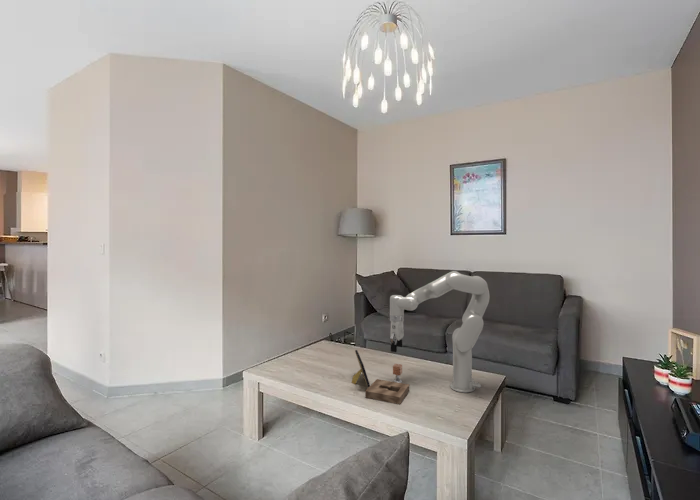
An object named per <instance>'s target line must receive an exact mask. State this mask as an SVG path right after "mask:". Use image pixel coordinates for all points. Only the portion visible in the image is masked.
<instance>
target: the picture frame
mask: <svg viewBox="0 0 700 500" xmlns="http://www.w3.org/2000/svg"><path fill="white" fill-rule="evenodd" d="M354 353H355V355H356V358H357V361H358V365H359V368H360V369H359V370H358V371H357V372H356V373H355V374H354V375H353V376H352V379H351V383H352V384H353V385H356V384H357V382H358V381H359V378H360V377H361V375H362V377H363V379H364V382H365V384H366V386H367V389H368V388H369V387H370V386H371V384H370V381H369V377H368V375H367V371H366V368H365V365H364V362H363V361H362V358H361V355H360V353H359V351H358V349H356V350H354Z"/></svg>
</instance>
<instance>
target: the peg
mask: <svg viewBox="0 0 700 500" xmlns="http://www.w3.org/2000/svg"><path fill="white" fill-rule="evenodd" d="M402 374H403V364H402V363H401V364H399V363H394V365H392V375H395V379H393V382H397V383H403V381H402V379H401V378H400V376H401V375H402Z"/></svg>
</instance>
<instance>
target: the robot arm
mask: <svg viewBox="0 0 700 500" xmlns="http://www.w3.org/2000/svg"><path fill="white" fill-rule="evenodd" d="M452 290H455V291H459V292H463V293H468V294H471V297H470V298H471V299H470V300H469V303H468V305H467V308H466V309H465V311H464V312H463V315H462V317H461V320H462V321H461V322H462V324H461V326H460V327H456V329H454V331H453V332H452V335H451V336H452V337H451V340H452V381H451V382H450V384H449V387H450V389H452V390H453V391H455V392H458V393H467V394H468V393H472V392H475V390H476V388H477V389H481V387H482V384H481V383H479V382H478V381H476V382H475V381H474V378H473V350H472V349H473V348H474V347H475V344H476V343H477V341H478V339H479V337H480V335H481V333H482V332H483V329H484V328H483V327H484V319H483V317H484V314H485V312H486V310H487V308H488V305H489V303H490V296H491V295H490V291H489V285H488V282H487V281H486V280H485V279H484V278H482V277H481V276H479V275H473V276H472V275H471V276H470V275H468V274H467V275H466V274H463V273H460V272H459V271H456V270H453V271H450V272H448V273H445V274H444V275H442V276H439V278H437V279H434V280H433V281H431V282H429V283H427V284H425V285H423V286H421V287H419V288H417V289H415V290H414V291H412V292H410V293H408V294H407V295H406V296H403V295H400V294H392V295H390V297H389V322H390V333H389V336H390V337H389V338H390V352H391V353H397V351H398V350H397V349H398V347H399V348H402V347H403V338H404V336H405V332H404V331H405V330H404V327H405V326H404V321H405V319H404V318H405V316H404V315H405V310H406V311H414V310H416V309H417V308H418V306H419V304H421V303H423V302H424V301H427V300H429V299H436V298H439V297H441V296H443V295H445V294H446V293H448V292H450V291H452Z"/></svg>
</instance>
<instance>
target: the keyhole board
mask: <svg viewBox="0 0 700 500" xmlns="http://www.w3.org/2000/svg"><path fill="white" fill-rule="evenodd" d="M409 392H410V384H408V383H403V382H402V383H397V382H394V381H390V380H384V379H380V378H379V379H378V378H376V379H375V380H374V381H373V382H372V384H370V387H369V388H368V387H367V388H366V390H365V392H364V393H365V394H364V395H365V398H366V399H371V400H375V401H379V402H384V403H390V404H395V405H396V404H397V405H401V404H402V403H403V401H404V399H406V397H407V395H408V394H409Z"/></svg>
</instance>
